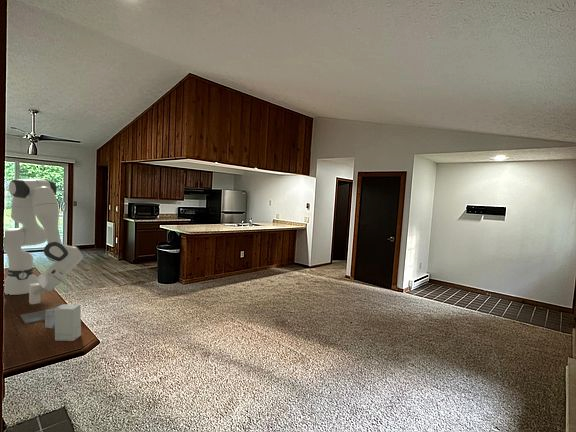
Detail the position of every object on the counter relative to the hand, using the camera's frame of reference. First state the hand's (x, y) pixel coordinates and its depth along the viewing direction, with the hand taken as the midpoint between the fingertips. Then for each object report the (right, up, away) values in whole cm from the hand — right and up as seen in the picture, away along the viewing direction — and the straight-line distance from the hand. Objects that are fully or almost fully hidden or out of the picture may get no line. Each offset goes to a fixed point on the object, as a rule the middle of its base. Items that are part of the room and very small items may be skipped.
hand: (33, 292), depth 166 cm
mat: (+10, -10, -7) cm, 16 cm away
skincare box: (+37, -14, -26) cm, 47 cm away
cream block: (0, -5, +1) cm, 5 cm away
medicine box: (+23, -12, -15) cm, 30 cm away
